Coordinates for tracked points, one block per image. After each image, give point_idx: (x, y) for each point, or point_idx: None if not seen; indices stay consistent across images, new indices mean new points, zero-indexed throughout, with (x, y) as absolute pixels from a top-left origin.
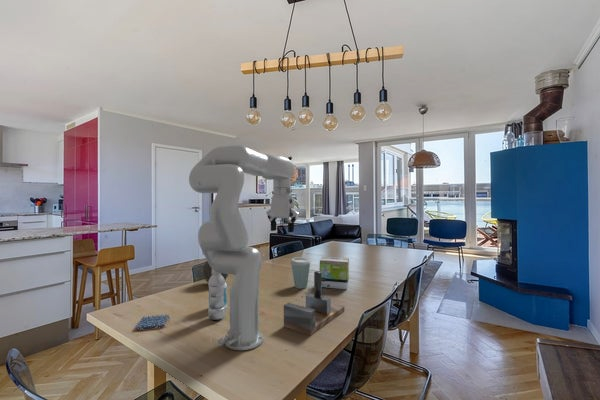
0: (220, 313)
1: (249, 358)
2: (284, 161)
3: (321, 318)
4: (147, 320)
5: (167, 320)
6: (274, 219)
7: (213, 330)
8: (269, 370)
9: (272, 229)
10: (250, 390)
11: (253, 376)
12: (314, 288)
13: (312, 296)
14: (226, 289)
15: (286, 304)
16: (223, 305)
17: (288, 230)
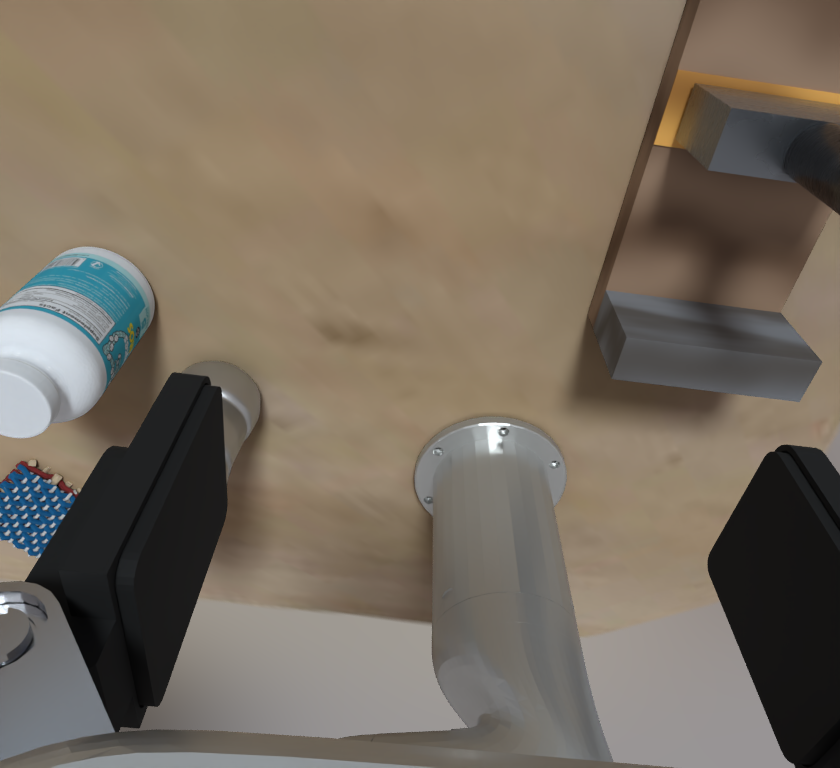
0: (256, 421)
1: (571, 534)
2: None
3: (805, 209)
4: (22, 529)
5: (76, 493)
6: (37, 691)
7: (312, 462)
8: (662, 552)
9: (217, 523)
10: (647, 612)
11: (628, 581)
12: (822, 200)
13: (768, 161)
14: (97, 333)
15: (625, 366)
16: (239, 419)
17: (732, 601)
